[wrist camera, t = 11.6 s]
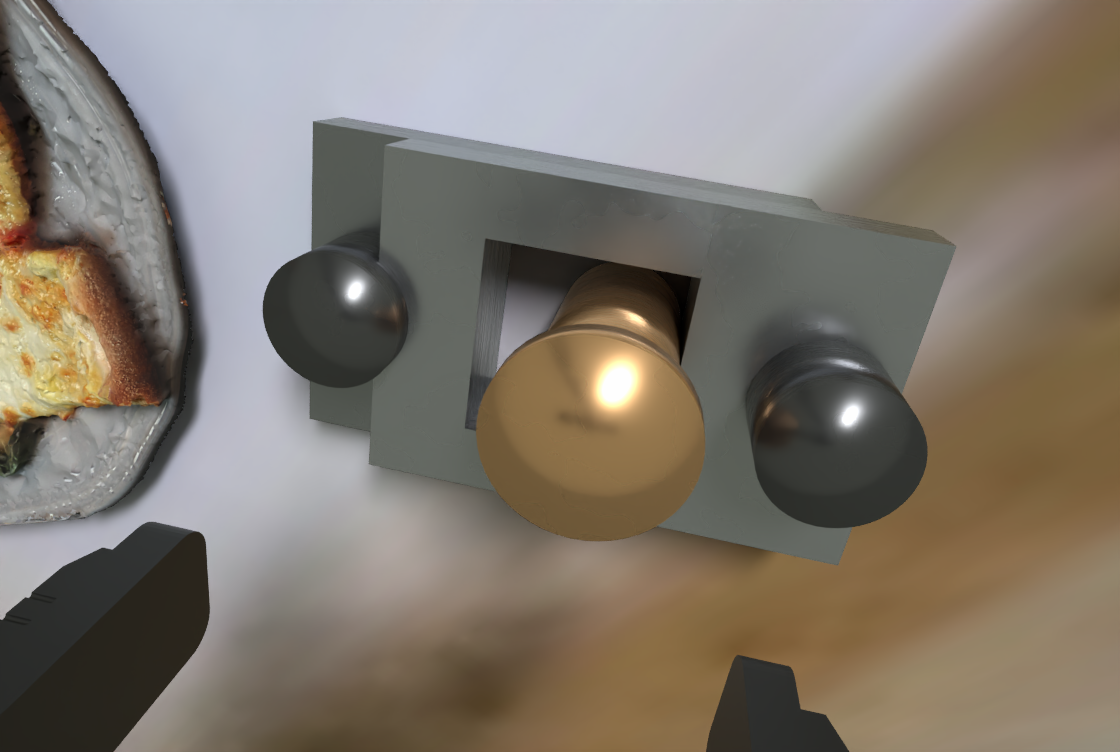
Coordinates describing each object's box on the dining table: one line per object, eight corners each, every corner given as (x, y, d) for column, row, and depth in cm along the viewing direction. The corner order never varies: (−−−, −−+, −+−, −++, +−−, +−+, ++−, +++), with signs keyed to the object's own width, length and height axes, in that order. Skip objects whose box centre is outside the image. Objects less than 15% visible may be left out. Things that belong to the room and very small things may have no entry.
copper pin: (535, 374, 26) (465, 514, 18) (556, 230, 24) (488, 314, 16) (680, 404, 26) (677, 562, 18) (715, 259, 24) (730, 362, 15)
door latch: (334, 395, 28) (229, 493, 21) (342, 117, 24) (215, 135, 17) (816, 496, 26) (858, 633, 20) (912, 216, 22) (1003, 277, 16)
